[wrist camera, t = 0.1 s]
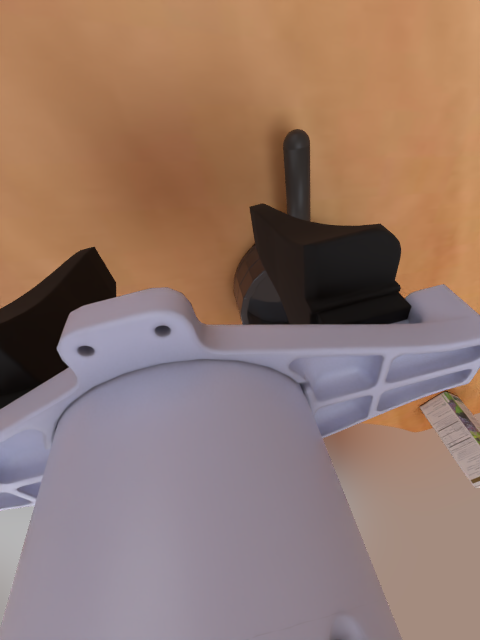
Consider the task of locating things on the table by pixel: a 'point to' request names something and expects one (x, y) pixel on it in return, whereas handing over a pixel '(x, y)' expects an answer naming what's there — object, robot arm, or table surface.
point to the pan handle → (297, 174)
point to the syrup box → (456, 432)
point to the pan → (257, 293)
